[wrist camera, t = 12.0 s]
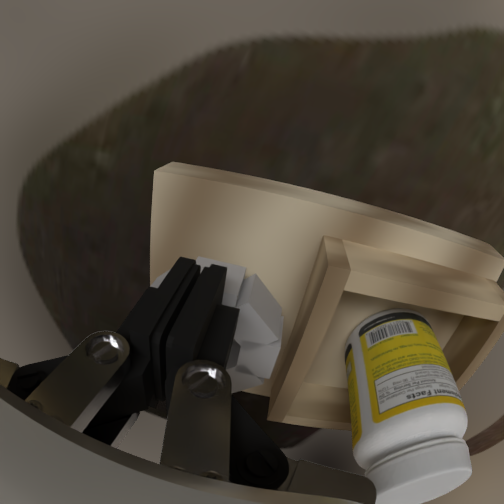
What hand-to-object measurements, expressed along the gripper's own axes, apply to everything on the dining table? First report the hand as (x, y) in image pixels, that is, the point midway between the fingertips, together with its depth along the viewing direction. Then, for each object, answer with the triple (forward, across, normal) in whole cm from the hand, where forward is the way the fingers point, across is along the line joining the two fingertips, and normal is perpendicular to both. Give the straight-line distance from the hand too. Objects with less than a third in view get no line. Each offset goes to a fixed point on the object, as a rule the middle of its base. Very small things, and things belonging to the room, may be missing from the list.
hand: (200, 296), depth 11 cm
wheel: (+2, 0, +3) cm, 3 cm away
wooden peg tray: (+5, -5, +3) cm, 8 cm away
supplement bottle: (+3, -9, +2) cm, 10 cm away
